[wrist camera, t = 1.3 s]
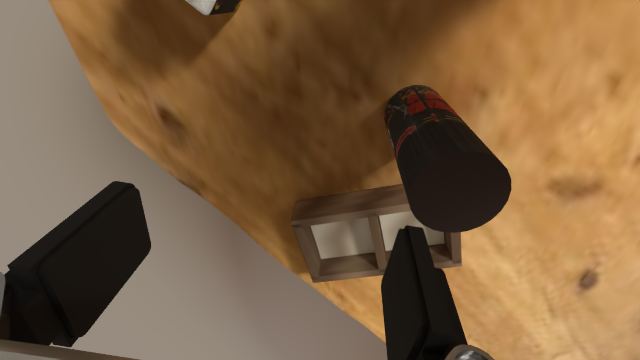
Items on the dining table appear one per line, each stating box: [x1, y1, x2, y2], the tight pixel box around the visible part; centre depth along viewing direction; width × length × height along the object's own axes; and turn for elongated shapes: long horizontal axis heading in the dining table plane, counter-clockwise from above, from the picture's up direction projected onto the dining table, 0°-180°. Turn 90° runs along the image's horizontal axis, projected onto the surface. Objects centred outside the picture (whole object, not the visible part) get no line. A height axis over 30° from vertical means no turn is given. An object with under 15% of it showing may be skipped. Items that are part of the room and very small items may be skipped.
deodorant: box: [385, 85, 511, 233], centre depth 25 cm, size 6×6×15 cm
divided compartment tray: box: [291, 184, 462, 283], centre depth 38 cm, size 18×10×4 cm, turn 104°
